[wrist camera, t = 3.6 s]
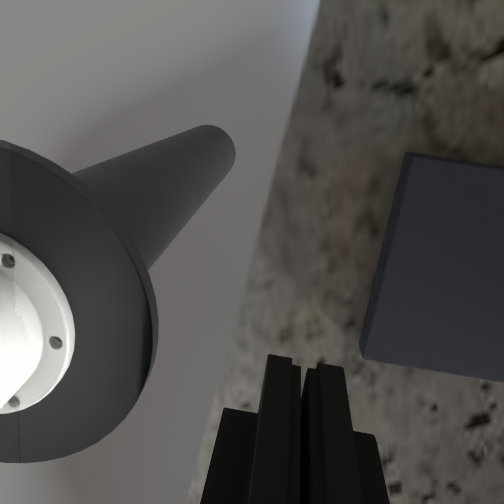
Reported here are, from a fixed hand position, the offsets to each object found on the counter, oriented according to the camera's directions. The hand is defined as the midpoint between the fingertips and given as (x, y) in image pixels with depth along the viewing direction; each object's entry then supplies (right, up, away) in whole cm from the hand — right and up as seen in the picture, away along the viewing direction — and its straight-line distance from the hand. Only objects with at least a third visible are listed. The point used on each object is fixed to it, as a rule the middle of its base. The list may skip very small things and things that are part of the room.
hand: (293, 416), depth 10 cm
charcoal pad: (+11, +3, +12) cm, 16 cm away
